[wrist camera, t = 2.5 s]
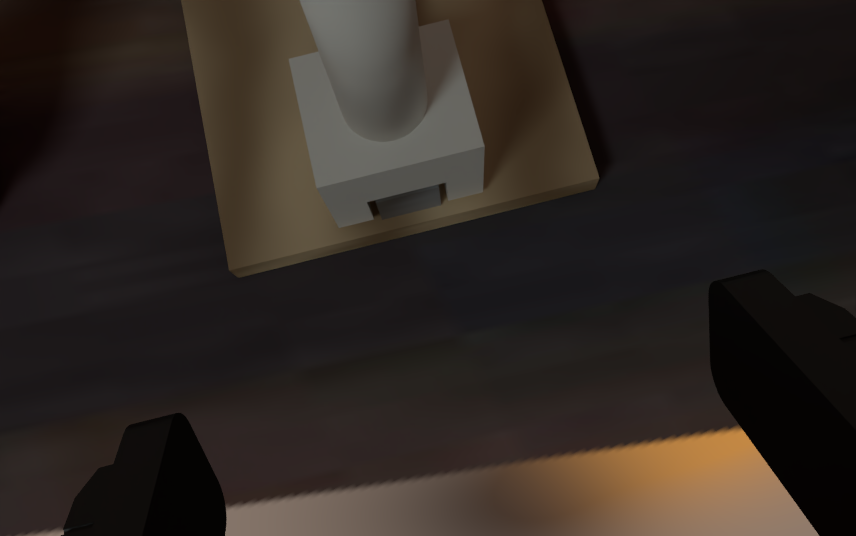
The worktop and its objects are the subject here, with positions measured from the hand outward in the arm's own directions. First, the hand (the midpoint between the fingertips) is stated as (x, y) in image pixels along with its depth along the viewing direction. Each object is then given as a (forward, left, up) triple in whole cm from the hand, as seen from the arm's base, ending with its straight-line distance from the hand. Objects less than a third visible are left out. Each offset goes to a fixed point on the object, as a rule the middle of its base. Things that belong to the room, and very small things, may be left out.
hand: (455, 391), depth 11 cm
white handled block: (0, +11, -16) cm, 20 cm away
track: (0, +17, -18) cm, 25 cm away
